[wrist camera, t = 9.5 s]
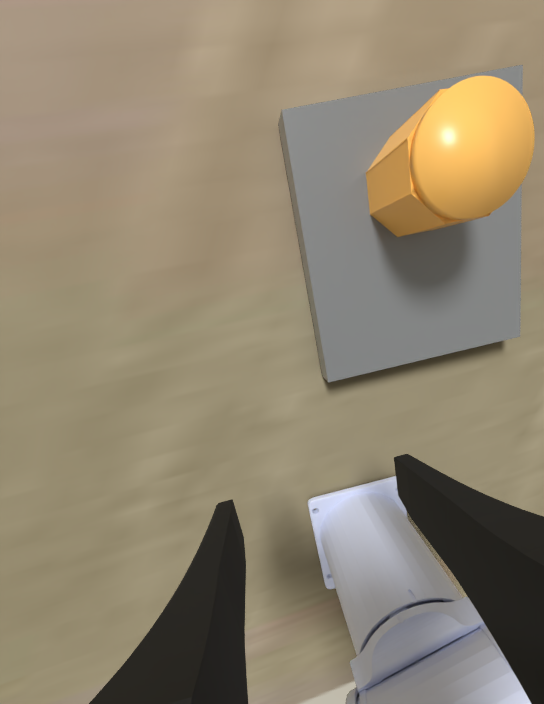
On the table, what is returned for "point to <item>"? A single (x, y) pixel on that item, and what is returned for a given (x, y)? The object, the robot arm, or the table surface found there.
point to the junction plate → (392, 244)
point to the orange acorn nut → (453, 158)
